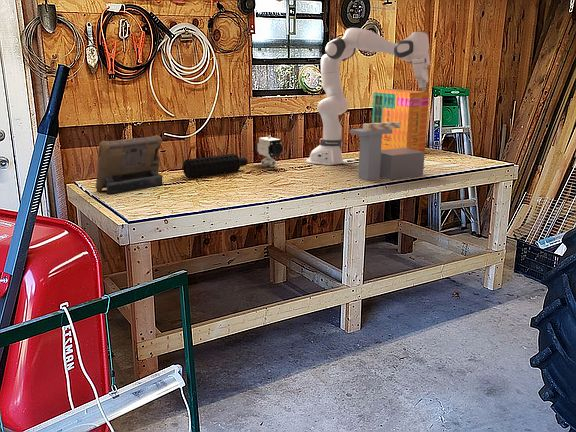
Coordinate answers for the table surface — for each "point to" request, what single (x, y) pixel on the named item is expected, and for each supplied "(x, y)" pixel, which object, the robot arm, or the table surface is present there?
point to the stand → (370, 152)
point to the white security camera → (269, 150)
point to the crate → (401, 163)
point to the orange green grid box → (402, 117)
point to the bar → (381, 125)
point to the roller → (212, 165)
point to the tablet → (128, 164)
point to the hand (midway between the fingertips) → (422, 89)
